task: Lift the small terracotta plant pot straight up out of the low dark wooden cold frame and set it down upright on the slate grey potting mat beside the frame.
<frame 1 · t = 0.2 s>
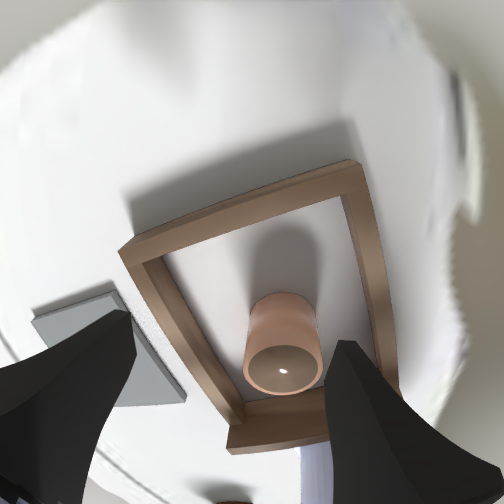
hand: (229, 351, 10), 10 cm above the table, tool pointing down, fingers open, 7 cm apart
potting mat: (104, 358, 24), on the table
clay pot: (282, 343, 19), in the cold frame
cold frame: (282, 320, 21), on the table
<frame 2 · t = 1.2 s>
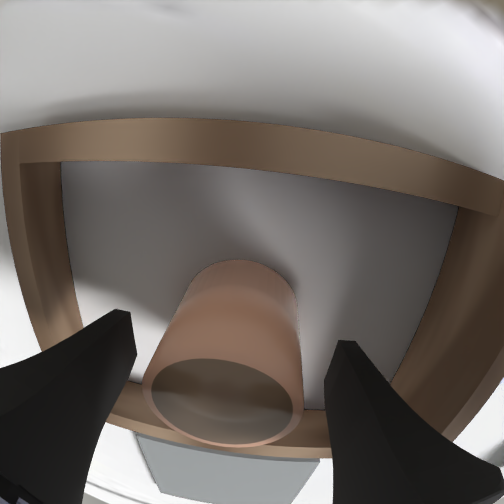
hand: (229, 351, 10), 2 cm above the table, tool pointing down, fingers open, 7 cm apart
potting mat: (225, 477, 19), on the table
clay pot: (231, 352, 10), in the cold frame
cold frame: (240, 311, 12), on the table
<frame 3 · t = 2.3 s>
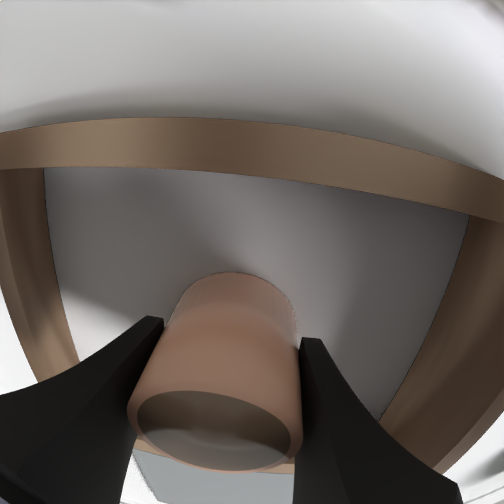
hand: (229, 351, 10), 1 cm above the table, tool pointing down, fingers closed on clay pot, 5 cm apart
potting mat: (222, 488, 18), on the table
clay pot: (225, 374, 9), resting in cold frame, touching gripper
cold frame: (235, 327, 11), on the table
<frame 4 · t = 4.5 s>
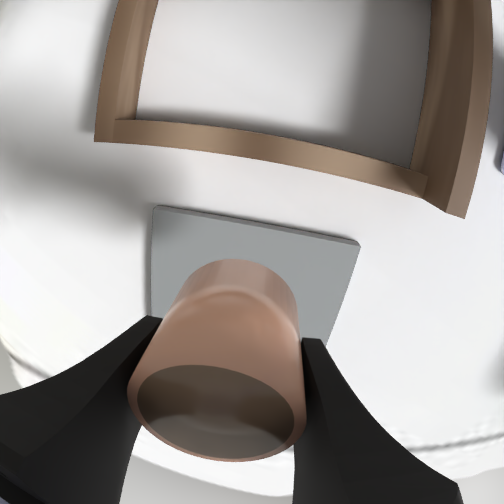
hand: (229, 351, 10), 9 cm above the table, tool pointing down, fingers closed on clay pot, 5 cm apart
potting mat: (242, 308, 20), on the table
clay pot: (226, 358, 9), point 10 cm above the table, touching gripper
cold frame: (291, 33, 13), on the table
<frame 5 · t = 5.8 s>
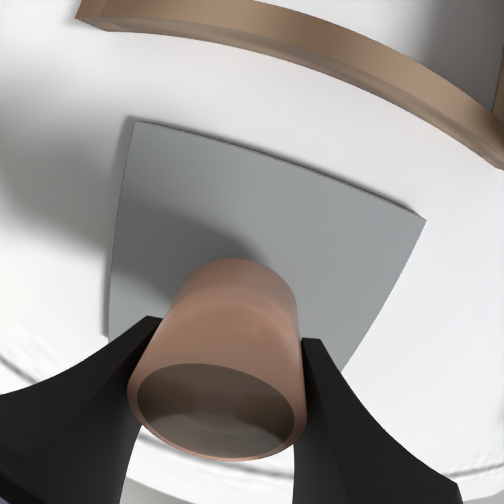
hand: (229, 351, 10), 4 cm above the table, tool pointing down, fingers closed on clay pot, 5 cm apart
potting mat: (242, 292, 13), on the table
clay pot: (226, 358, 9), point 5 cm above the table, touching gripper
when the fingers open (4 cm above the table, at t = 6.7 s): clay pot drops 1 cm, resting on potting mat.
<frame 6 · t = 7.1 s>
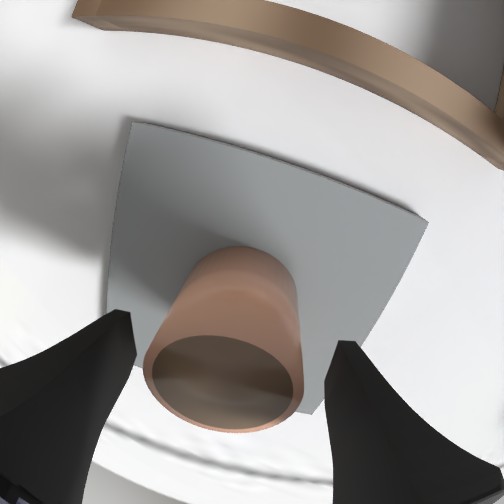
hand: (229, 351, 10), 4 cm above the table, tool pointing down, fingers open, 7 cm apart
potting mat: (241, 295, 13), on the table
clay pot: (232, 336, 10), on the potting mat, point 3 cm above the table
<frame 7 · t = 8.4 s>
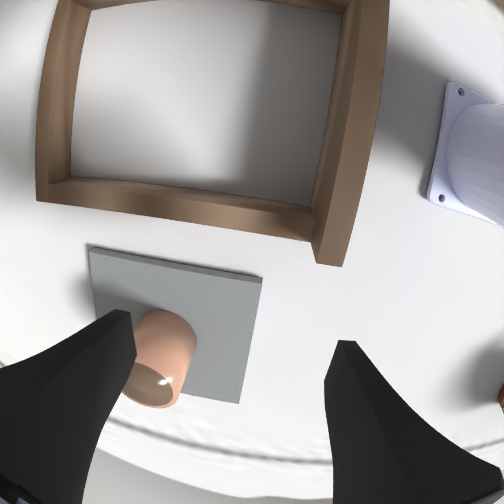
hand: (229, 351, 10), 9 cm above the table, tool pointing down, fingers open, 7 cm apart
potting mat: (170, 332, 22), on the table
clay pot: (155, 359, 19), on the potting mat, point 3 cm above the table
cold frame: (187, 86, 15), on the table
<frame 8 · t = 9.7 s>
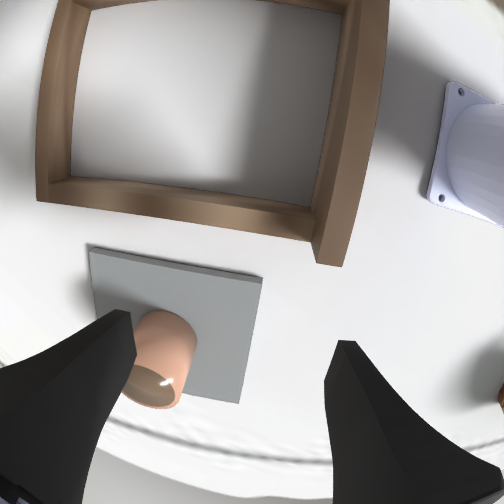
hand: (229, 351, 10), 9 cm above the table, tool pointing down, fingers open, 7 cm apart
potting mat: (170, 332, 22), on the table
clay pot: (156, 360, 19), on the potting mat, point 3 cm above the table
cold frame: (187, 86, 15), on the table
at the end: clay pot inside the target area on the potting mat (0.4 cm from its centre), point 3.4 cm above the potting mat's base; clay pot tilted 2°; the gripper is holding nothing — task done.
